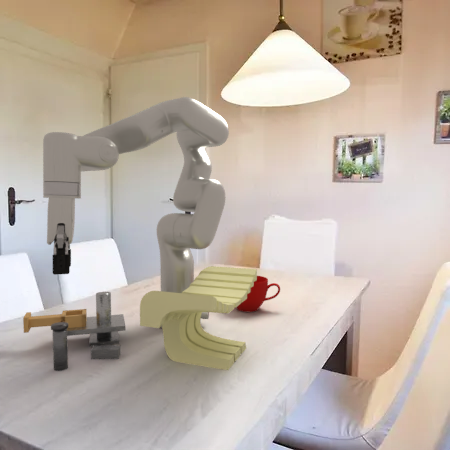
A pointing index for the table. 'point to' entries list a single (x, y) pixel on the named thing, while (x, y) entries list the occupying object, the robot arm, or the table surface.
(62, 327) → the pin
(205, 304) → the slatted curved stool
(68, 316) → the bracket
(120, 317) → the grey metal fixture
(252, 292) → the ceramic cup
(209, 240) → the robot arm
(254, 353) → the table surface
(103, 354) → the wedge bar
